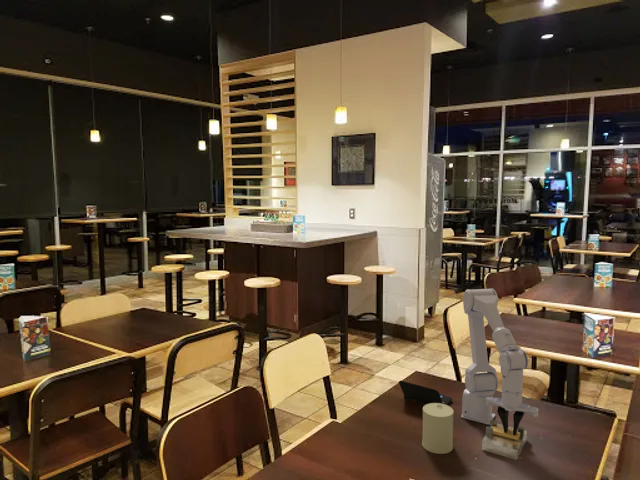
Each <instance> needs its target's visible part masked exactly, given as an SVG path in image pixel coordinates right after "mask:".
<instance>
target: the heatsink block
mask: <svg viewBox="0 0 640 480" xmlns="http://www.w3.org/2000/svg"><path fill="white" fill-rule="evenodd" d="M491 426H496V427H500V428H503V424H502V423H498V420H497V421H496V420H494V419H493V420H490V424H489V426H487V425H486V427H485V434H484V437H483V439H482V440H481V450H482V451H484V452H488V453H491V454H495V455H497V456H498V455H499V456H502V457H504V458H508V459H512V460H515V461H517V460H518V459H519V457H520V455H521V453H522V451H523V448H524V446H525V444H526V442H527V439H528V438H527V436H528V435H527V434H528V433H527V432H528V431H527V430H525V429H524V436H523V437H521V436H520V437H519V439H518V440H516V439H512V438H508V437H504V436H500V435H496V434H493V428H491ZM513 428H514V426H509V425H508V430H512V431H513ZM517 432H518V430H517Z"/></svg>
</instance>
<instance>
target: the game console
mask: <svg viewBox="0 0 640 480" xmlns="http://www.w3.org/2000/svg"><path fill="white" fill-rule="evenodd" d="M398 385H399V386H400V389H401V392H402V394H403V399H404V400H406V399H407V401H410V400H411V401H410V402H414V403H419V404H422V403H423V405H424V406H425V405H426V404H430V403H441V404H445V405H448V406H449V404H450V403H452V401H453V399H452V396H451V397H450V396H448V395H444V394H442V393H441V394H440V392H439V391H438V390H436V389H434V388H430V387H427V386H423V385H420V384H415V383H411V382H408V381H403V380H398Z"/></svg>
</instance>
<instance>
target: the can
mask: <svg viewBox="0 0 640 480" xmlns="http://www.w3.org/2000/svg"><path fill="white" fill-rule="evenodd" d="M454 413H455V412H454V409H453V408H452V407H451V406H449V404H448V405H445V404H441V403H430V404H426V405H425V404H424V405H423V407H422V442H421V445H422V447H423V448H424V449H425V450H426V451H427V452H430V453H433V454H437V455H442V454H448V453H451V451H453V449H454V445H453V442H454V441H453V440H454V439H453V436H454V435H453V433H454V428H453V427H454Z"/></svg>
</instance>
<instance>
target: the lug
mask: <svg viewBox="0 0 640 480" xmlns="http://www.w3.org/2000/svg"><path fill="white" fill-rule="evenodd" d="M525 429H526V428H525V426H521V425H519V426H518V432H520V436H521V437H523V436H524V430H525Z"/></svg>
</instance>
